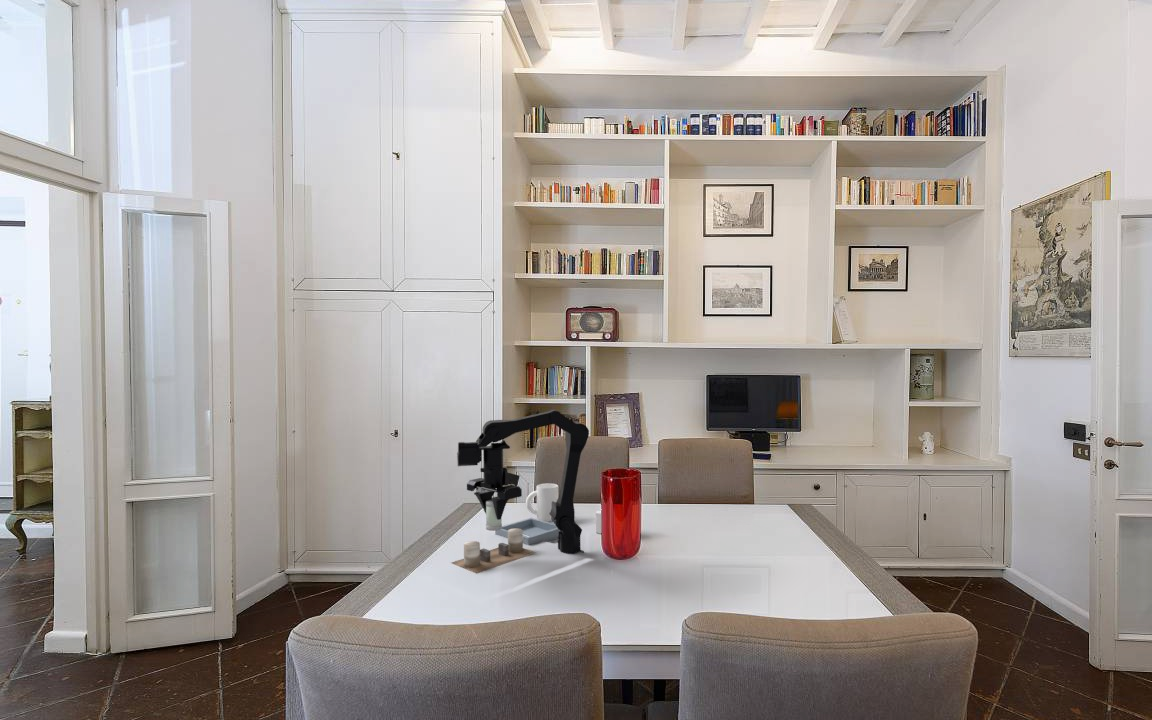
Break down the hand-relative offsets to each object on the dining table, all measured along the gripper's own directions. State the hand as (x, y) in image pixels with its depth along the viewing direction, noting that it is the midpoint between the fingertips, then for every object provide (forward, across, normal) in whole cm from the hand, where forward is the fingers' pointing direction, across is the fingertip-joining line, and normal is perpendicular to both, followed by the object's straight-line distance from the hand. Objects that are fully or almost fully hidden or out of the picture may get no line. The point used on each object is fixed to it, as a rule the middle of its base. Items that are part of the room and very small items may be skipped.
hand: (493, 517), depth 167 cm
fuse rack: (+12, 0, 0) cm, 13 cm away
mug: (+13, +21, -39) cm, 46 cm away
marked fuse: (+3, 0, 0) cm, 3 cm away
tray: (+12, +9, -22) cm, 27 cm away
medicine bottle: (+13, -8, -43) cm, 46 cm away
